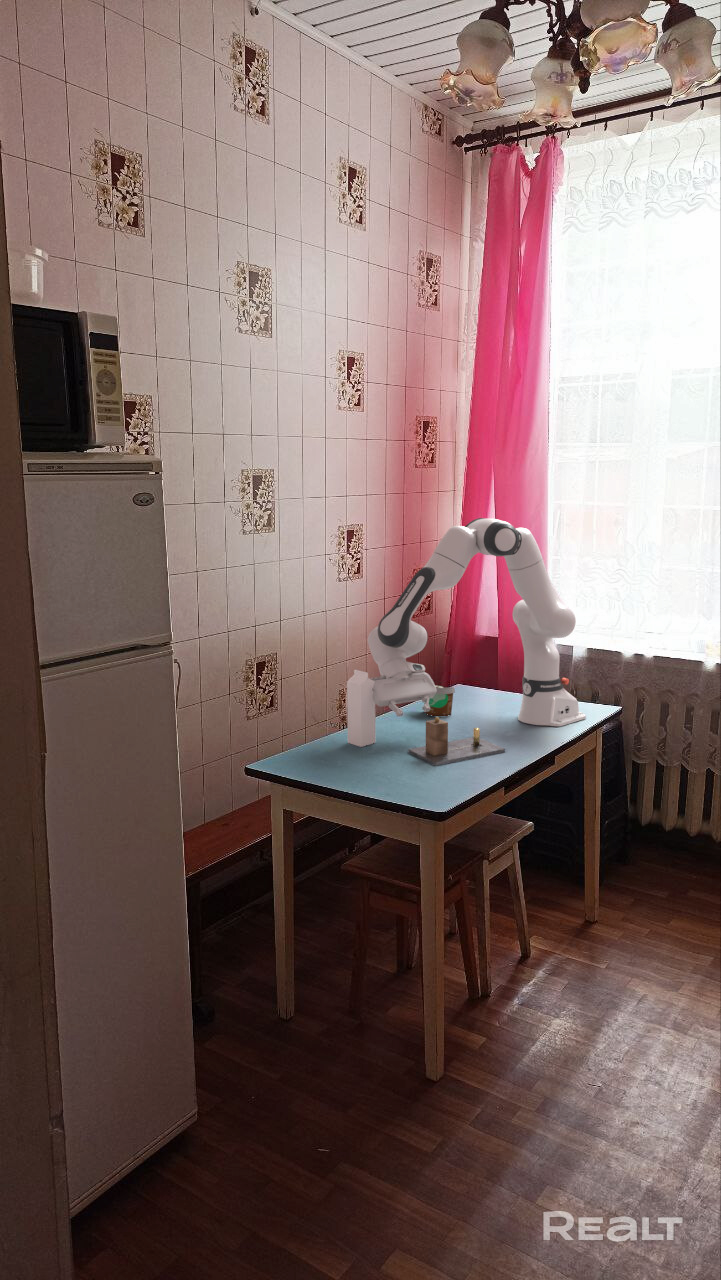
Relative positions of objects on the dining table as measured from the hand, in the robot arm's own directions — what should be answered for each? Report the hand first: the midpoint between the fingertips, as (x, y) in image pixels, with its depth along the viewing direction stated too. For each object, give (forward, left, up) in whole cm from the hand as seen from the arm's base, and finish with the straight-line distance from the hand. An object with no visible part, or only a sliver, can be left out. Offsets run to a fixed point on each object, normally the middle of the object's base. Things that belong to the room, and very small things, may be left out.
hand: (414, 713), depth 263 cm
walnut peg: (0, +12, -9) cm, 15 cm away
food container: (-24, -24, -10) cm, 35 cm away
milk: (+13, -10, -10) cm, 19 cm away
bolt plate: (-6, +12, -10) cm, 17 cm away
